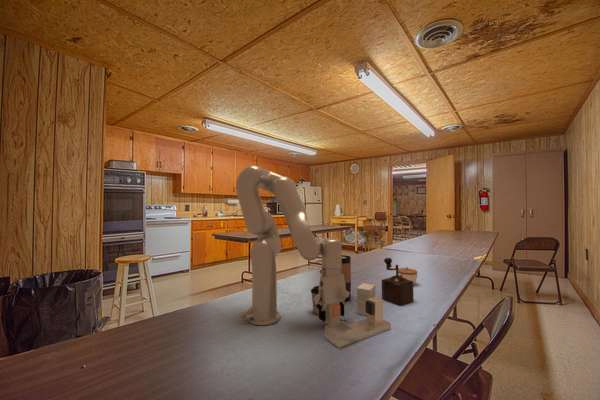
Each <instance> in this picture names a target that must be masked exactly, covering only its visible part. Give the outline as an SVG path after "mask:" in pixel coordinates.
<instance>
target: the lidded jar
mask: <svg viewBox="0 0 600 400" xmlns="http://www.w3.org/2000/svg"><path fill="white" fill-rule="evenodd" d="M398 268H399V267H398ZM398 275H399V276H401V275H403V276H402V277H403V278H406V279H408V280H411V281H413V285H415V283H416V282H417V279H418V271H417V269H415V268H409V267H408V266H407V267H400V268H399V269H398Z"/></svg>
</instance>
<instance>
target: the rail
mask: <svg viewBox="0 0 600 400" xmlns="http://www.w3.org/2000/svg"><path fill="white" fill-rule="evenodd" d="M366 313H367V315H366V318H363V319H359V320H357V321H354V322H350V323H347V322H346V321H344V320H340V321H338V322H335V323H332V324H325V325H324V332H323V333H324V335H323V336H324V339H326V340H327V341H328V342H329V343H331V344H333V345H334V346H336V347H337V348H338V349H340V348H343V347H346V346H348V345H350V344H351V345H352V344H353V343H356V342H359V341H362V340H364V339H367V338H370V337H373V336H375V335H378V334H382V333H383V332H386V331H389V330H392V329H391V328H392V327H391V326H392V324H391V322H389V321H386V320H385V319H384V300H383V299H382V298H378V297H376V296H375V297H373V298H369V299H367V301H366Z"/></svg>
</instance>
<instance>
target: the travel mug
mask: <svg viewBox="0 0 600 400" xmlns="http://www.w3.org/2000/svg"><path fill="white" fill-rule="evenodd" d="M351 265H352V263H351V256H349V255H343V254H342V274H343V275H344V279H345V286H346V290H347V291H348V292H350V294H349V296H348V300H347V301H346V303H348V302H351V292H352V290H351V289H352V266H351Z"/></svg>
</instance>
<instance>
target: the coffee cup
mask: <svg viewBox="0 0 600 400" xmlns="http://www.w3.org/2000/svg"><path fill="white" fill-rule="evenodd" d="M310 292H311V299H312V308H313V313H314V314H316V315H319V309H318V308H317V307H316V306H315V304H314V303H313V299H314V298H315V297H316V296H317V295H318V294H319V285H315V286H313V288H311V290H310ZM318 303H320V301H318ZM323 304H324V303H323ZM323 304H322V306H323Z"/></svg>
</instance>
